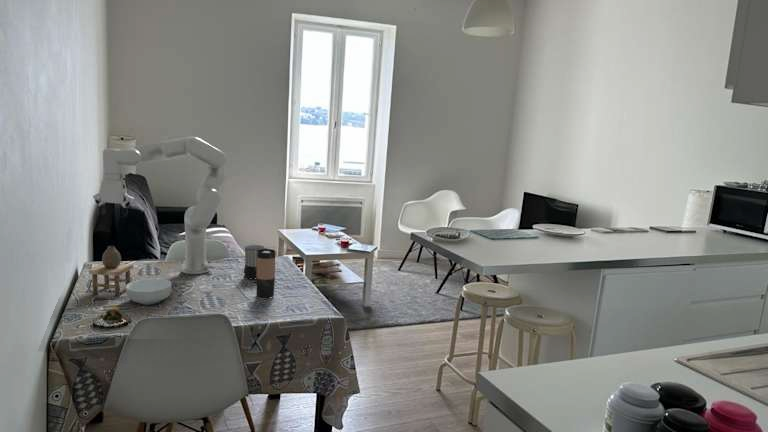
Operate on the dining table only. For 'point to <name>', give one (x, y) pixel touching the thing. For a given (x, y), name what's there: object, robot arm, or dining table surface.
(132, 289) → the cereal bowl
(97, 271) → the stool
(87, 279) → the dining table surface
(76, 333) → the dining table surface
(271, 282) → the travel mug
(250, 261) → the milk frother
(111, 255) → the vase
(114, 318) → the mossy pebble dish
